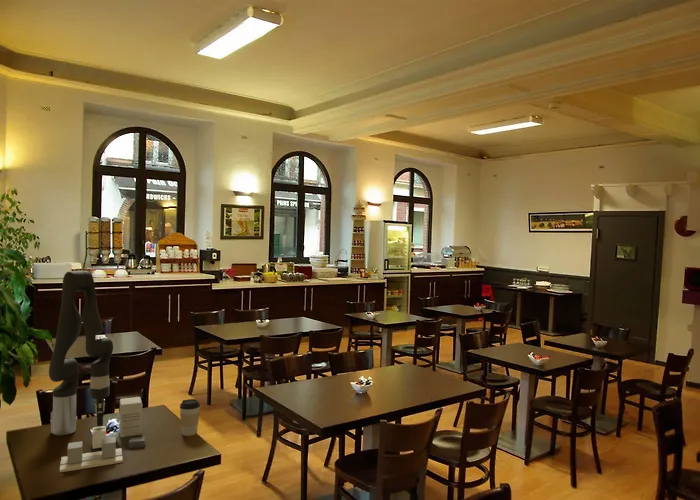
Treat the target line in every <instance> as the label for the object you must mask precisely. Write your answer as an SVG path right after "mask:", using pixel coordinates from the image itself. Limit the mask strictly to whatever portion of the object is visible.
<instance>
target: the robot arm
mask: <svg viewBox="0 0 700 500" xmlns="http://www.w3.org/2000/svg"><path fill="white" fill-rule="evenodd" d="M61 285H62V287H61V305H60V309H59V310H60V311H59V316H58V317H59V318H58V321H57V322H58V323H57V328H56V337H55V342H54V347H53V352H52V355H51V357H50V363H49V368H48V377H49V379H50V380H51V381H52V382H56V383H58V382H61V383H60V384H59V385H57V386H56V387H54V389H53V391H52V400H53V401H52V411H51V412H50V433H51V434H53V435H55V436H65V435H66V436H67V435H69V434H73V433H75V432H76V430H77V390H78V387H79V375H80V374H79V373H80V372H79V369H80V368H79V363H78V360H76V359H75V358H74V357H70V358H66V356H67V354H68V352H69V350H70V349H71V347H72V346H73V345H74V343H75V342H76V341H77V340H78V338H79V337H80V334H81V328H82V326H83V328H84V332H85V333H84V334H85V352H86V355H88V356H89V357H91V358H95V357H99V358H98V359H96V360H94V361H93V362H91V364H90V379H89V397H90V399H95V400H94V407H95V411H94V412H95V414H96V427H100V426H104V416H105V415H104V413H105V405H106V399H105V398H107V397H109V396H110V369H109V368H110V367H109V366H110V363H111V362H110V361H111V358H112V354H113V352H114V343H113V341H112V340H111V338H108V337H105V338H104V337H103V338H98V339H96V337H97V336H99V335H100V334H102V333H103V332H104V326H103V323H102V320H101V316H100V313H99V309H98V300H97V294H96V293H97V292H96V287H95V286H96V284H95V281H94V276H93V274H92V273H91V271H90V270H70V271H67V272H65V274H64V275H63V278H62V284H61ZM78 292H83V293H84V296H85V303H84V307H83V309H82V313H80V312H79V310H78V308H77V306H76V304H75V294H76V293H78Z"/></svg>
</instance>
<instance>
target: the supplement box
mask: <svg viewBox="0 0 700 500" xmlns="http://www.w3.org/2000/svg"><path fill="white" fill-rule="evenodd" d="M142 419H143V402H142V399H141V396H136V397H135V396H134V397H124V398H120V399H119V435H120V438H126V437H132V436H133V437H134V436H139V435H142V434H143V433H142V429H143V427H142V426H143V424H142V423H143V422H142V421H143V420H142Z"/></svg>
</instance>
